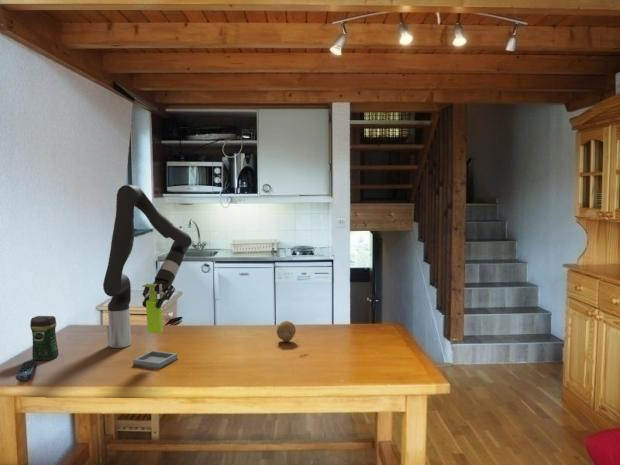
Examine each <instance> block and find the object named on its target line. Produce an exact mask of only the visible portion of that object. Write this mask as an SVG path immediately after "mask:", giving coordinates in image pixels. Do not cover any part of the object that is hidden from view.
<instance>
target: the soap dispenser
mask: <svg viewBox="0 0 620 465" xmlns="http://www.w3.org/2000/svg"><path fill="white" fill-rule="evenodd" d="M146 286H150V292H149V293H148V294H149V300H147V301H146V307H145V308H146V309H145V310H146V324H147V333H148V334H158V333H162V332H163V330H164V329H163V316H162V306H161V307H160V308H159V309H157V308H156V303H157V301H158V299H159V298H158V294H157V292H156V291H155V287H154V286H156V284H153V283H146V284H143V285H142V286H141V287H142V288H145V287H146Z"/></svg>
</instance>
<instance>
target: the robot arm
mask: <svg viewBox="0 0 620 465" xmlns="http://www.w3.org/2000/svg"><path fill="white" fill-rule="evenodd" d="M135 208H137V209H138V210H140V212H142V214H143V215H144V216H145V217H146V218H147V220H148V221H149V223H150V224H151V226H152V227H153V228H154V230H156V231H157V232H158V233H159V234H160V235H161V236H162V237H163V238H165V239H169V238H170V239H171V240H173V242H172V245H171V247H170V249H169V252H168V253H167V255H166V257H165V259H164V260H163V262H162V263H161V265H160V267H159V269H158V271H157V273H156V276H155V277H154V281H153V283H152V284H156V286H154V287H155V291H156V292H157V295H159V298H157V299H158V301H157V303H156V308H157V309H159V308H160V307H161V308H162V306H163V303H164V302H165V301H170V299H171V297H172V295H173V294H174V293H175V291H176V288H175V286H174V285H173V283H174V281H175V279H176V277H177V274H178V272H179V269H180V267H181V265H182V263H183V260H184V256H185V254H186V253H187V251H189V250H188V249H189V248H190V247H191V245H192V238H191V235H189V234H188V233H187V232H186V231H184V230H182V229H181V228H179V227H178V226H176V225H174V223H173V222H171V220H169V219H168V218H167V216H165V215H164V214H163V213H162V212H161V211H160V210H159V209H158V208H157V207H156V206H155V204H154V203H152V201H151V200H150V199H149V197H148V196H147V194H146V193H145V192H144V191H143V190H142V188H141V187H139V186H138V185H135V184H124V185H122V186H120V187H119V188H118V190H117V193H116V207H115V218H114V224H113V231H112V236H111V243H110V251H109V256H108V262H107V266H106V267H107V268H106V272H105V274H104V280H103V284H102V286H103V287H102V289H103V291H104V294H105V295H107V296H108V297H111V299H110V301H109V302H108V304H107V316H108V318H107V319H108V325H107V326H106V331H107V332H106V334H107V335H106V336H107V346H108V347H110V348H112V349H122V348H126V347H129V346H130V345H131V344H132V340H131V335H132V334H131V320H130V319H131V317H130V316H131V315H130V314H131V313H130V304H131V300H132V298H131V297H132V296H131V293H132V289H131V288H132V286H131V281H130V279H129V276H127V275H126V274H124V273H123V272H124V271H123V270H124V268H125V264H126V263H127V261H128V259H129V257H130V255H131V253H132V251H133V246H134V240H135V228H134V224H133V214H134V209H135ZM149 292H150V286H146V287H144V289H143V292H142V296H143V297H144V299H143V301H142V307H143V308H146V301H147V300H149V294H148V293H149Z"/></svg>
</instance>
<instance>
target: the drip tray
mask: <svg viewBox="0 0 620 465" xmlns="http://www.w3.org/2000/svg"><path fill="white" fill-rule="evenodd" d="M176 360H178V353H175V352H168V351H159V350H150V351H148V352H146V353H144V354H142V355H140V356H138V357H136V358H134V359H132V364H133V366H135V367H142V368H147V369H156V370H161V369H163V368H164V367H166V366H168V365H171V364H172V363H173V362H175V361H176Z"/></svg>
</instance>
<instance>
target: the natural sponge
mask: <svg viewBox="0 0 620 465" xmlns="http://www.w3.org/2000/svg"><path fill="white" fill-rule="evenodd" d="M296 332H297V330H296V326H295V325H294V323H293V322H291V321H287V320H285V321H283V322H281V323H280V324H279V325H278V326H277V328H276V334H277V338H279V339H280V340H282V341H283V342H285V343H289V342H291V340H292V339H293V338H294V337H295V334H296Z"/></svg>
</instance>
